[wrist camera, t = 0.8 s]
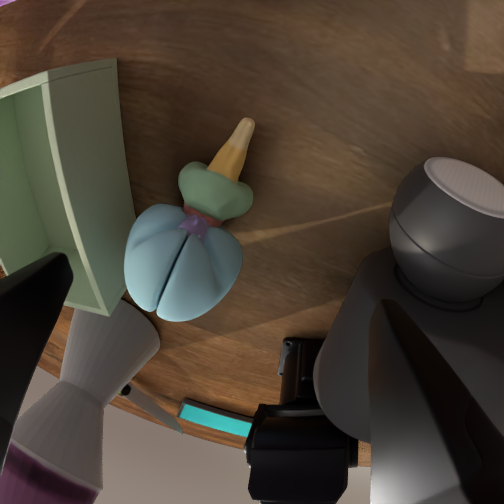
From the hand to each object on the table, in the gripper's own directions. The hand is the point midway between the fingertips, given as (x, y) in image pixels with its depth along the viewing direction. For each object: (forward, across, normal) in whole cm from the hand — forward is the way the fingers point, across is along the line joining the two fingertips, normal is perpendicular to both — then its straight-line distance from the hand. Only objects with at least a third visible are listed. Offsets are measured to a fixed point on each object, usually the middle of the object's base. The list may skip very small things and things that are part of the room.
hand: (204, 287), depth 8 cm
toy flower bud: (+13, +3, +3) cm, 14 cm away
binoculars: (-3, -16, +4) cm, 17 cm away
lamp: (+13, +15, +20) cm, 28 cm away
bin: (+12, +15, +2) cm, 20 cm away
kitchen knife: (+13, +16, +35) cm, 41 cm away
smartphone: (+13, +3, +40) cm, 42 cm away
